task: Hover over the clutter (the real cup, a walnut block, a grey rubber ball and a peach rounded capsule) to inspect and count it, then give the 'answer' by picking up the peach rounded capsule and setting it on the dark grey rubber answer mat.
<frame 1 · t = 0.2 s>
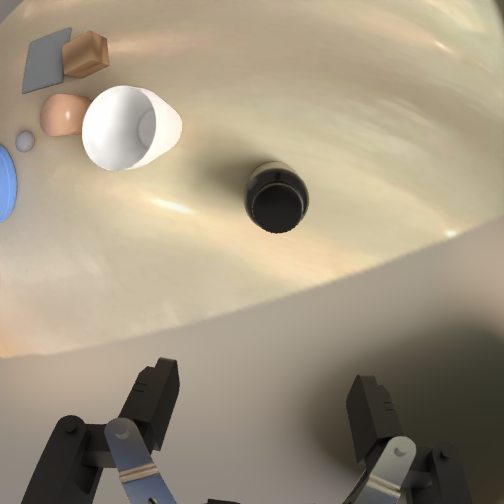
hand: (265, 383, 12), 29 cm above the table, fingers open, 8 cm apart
answer mat: (45, 61, 31), on the table
supplement bottle: (275, 186, 38), on the table
cup: (159, 128, 36), on the table
grey ball: (31, 140, 36), on the table
peach rounded capsule: (78, 115, 35), on the table
walnut block: (94, 58, 31), on the table
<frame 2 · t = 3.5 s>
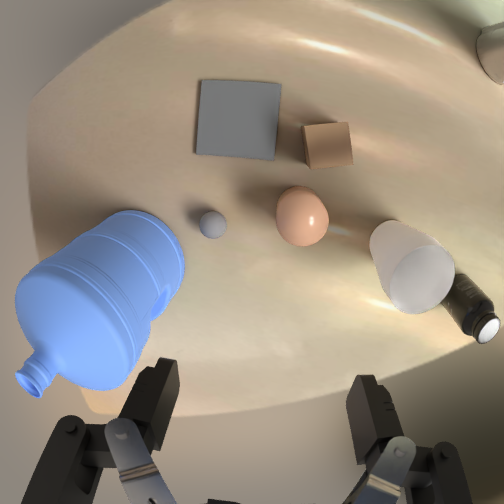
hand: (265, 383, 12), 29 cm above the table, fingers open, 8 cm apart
answer mat: (238, 118, 34), on the table
supplement bottle: (454, 290, 42), on the table
cup: (389, 241, 39), on the table
water jug: (139, 256, 44), on the table
grey ball: (215, 220, 40), on the table
peach rounded capsule: (299, 208, 39), on the table
walnut block: (322, 143, 35), on the table
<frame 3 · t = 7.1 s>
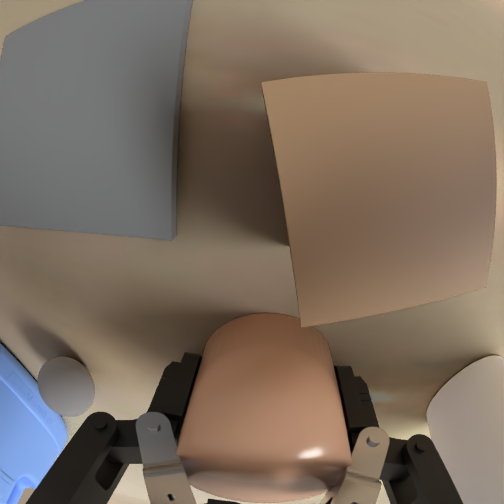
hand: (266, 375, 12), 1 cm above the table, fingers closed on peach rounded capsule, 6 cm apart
answer mat: (68, 111, 9), on the table
cup: (465, 389, 14), on the table
water jug: (7, 382, 18), on the table
grey ball: (79, 367, 14), on the table
peach rounded capsule: (267, 365, 13), on the table, touching gripper
walnut block: (348, 169, 10), on the table
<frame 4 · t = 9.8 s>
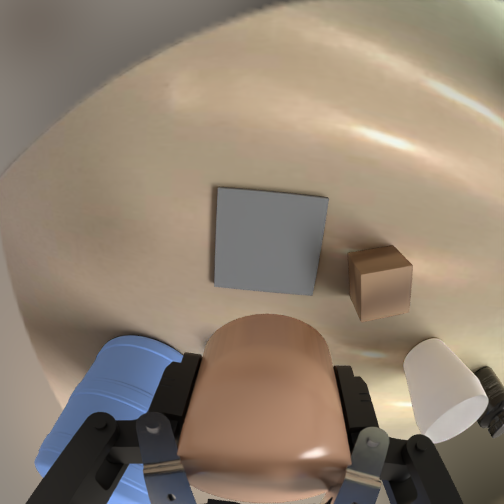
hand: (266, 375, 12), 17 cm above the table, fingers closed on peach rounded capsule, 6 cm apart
answer mat: (268, 242, 28), on the table
supplement bottle: (476, 379, 35), on the table
cup: (423, 355, 33), on the table
water jug: (151, 374, 37), on the table
peach rounded capsule: (266, 365, 13), point 16 cm above the table, touching gripper
walnut block: (371, 270, 29), on the table
when the fingers open (2 cm above the table, at t = 12.9 s): peach rounded capsule drops 1 cm, resting on answer mat.
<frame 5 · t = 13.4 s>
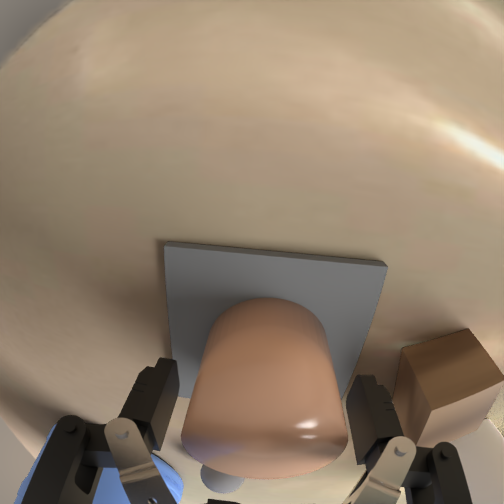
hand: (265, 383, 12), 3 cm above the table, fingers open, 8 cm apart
answer mat: (267, 340, 15), on the table
cup: (464, 436, 20), on the table
water jug: (117, 458, 23), on the table
grey ball: (225, 457, 20), on the table
peach rounded capsule: (267, 348, 14), point 1 cm above the table, touching answer mat
walnut block: (430, 366, 15), on the table
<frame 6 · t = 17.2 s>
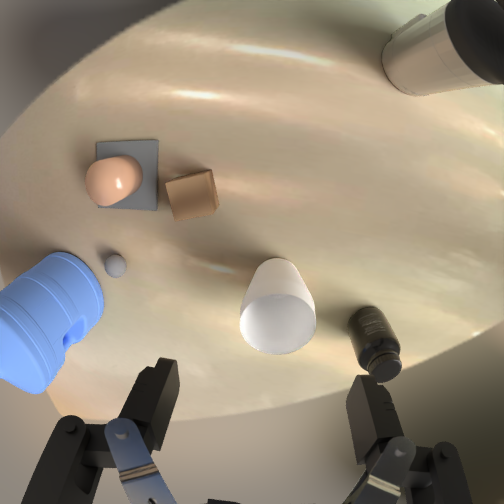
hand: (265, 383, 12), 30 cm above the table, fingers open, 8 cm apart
answer mat: (126, 174, 39), on the table
supplement bottle: (365, 321, 46), on the table
cup: (276, 277, 44), on the table
water jug: (72, 288, 47), on the table
grey ball: (120, 261, 44), on the table
peach rounded capsule: (124, 175, 38), point 1 cm above the table, touching answer mat
walnut block: (198, 190, 39), on the table
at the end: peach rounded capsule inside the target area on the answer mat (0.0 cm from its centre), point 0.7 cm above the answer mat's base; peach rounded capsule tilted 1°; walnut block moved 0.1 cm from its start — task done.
